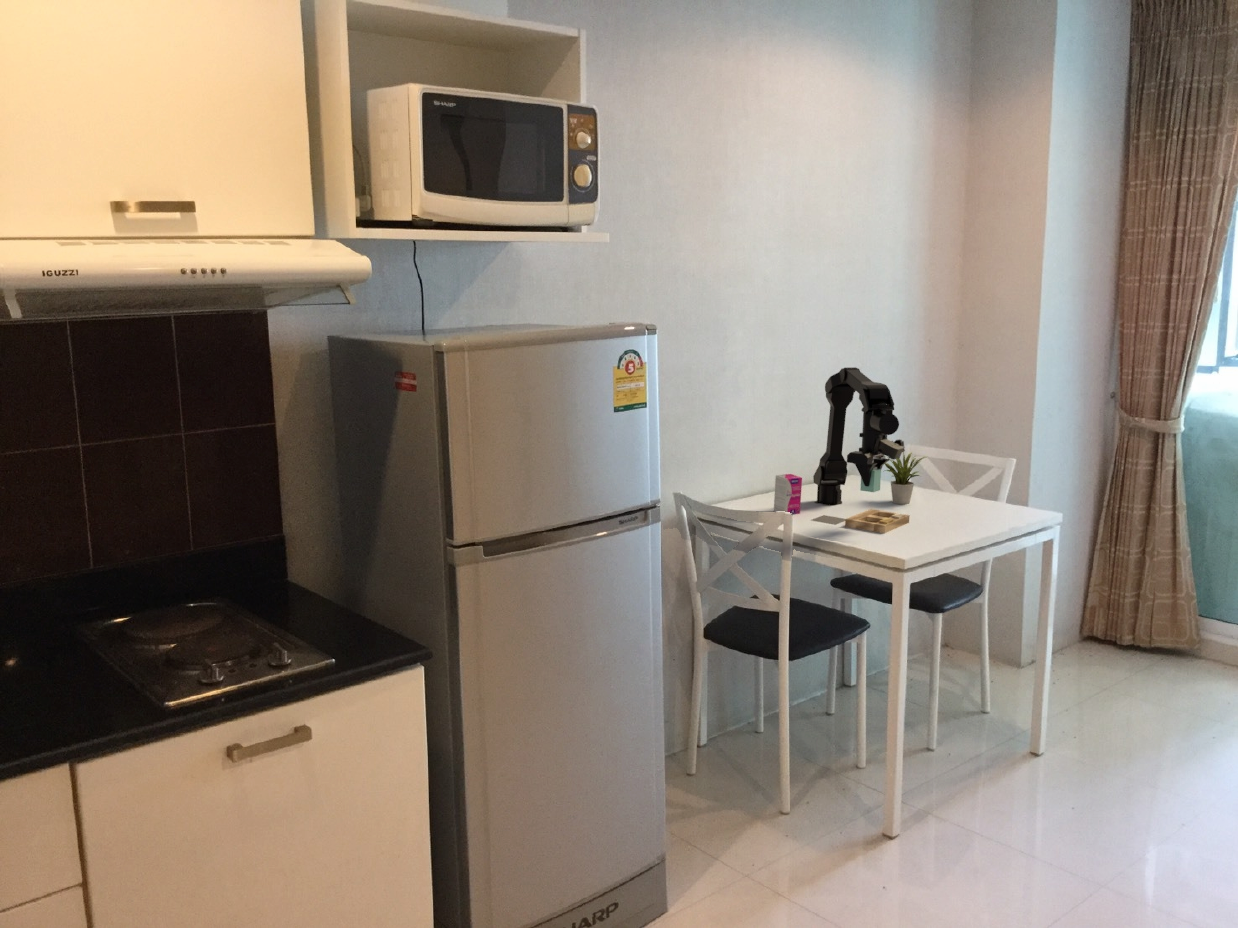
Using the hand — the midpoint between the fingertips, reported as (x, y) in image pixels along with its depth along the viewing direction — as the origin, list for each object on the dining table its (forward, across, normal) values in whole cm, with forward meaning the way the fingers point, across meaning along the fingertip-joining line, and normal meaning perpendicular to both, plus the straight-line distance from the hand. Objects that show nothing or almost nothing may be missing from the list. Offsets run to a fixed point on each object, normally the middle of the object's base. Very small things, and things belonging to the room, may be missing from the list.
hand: (870, 485), depth 299 cm
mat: (+12, 0, +12) cm, 17 cm away
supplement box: (+12, 0, +26) cm, 29 cm away
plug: (+2, 0, 0) cm, 2 cm away
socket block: (+12, +4, 0) cm, 13 cm away
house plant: (+12, +38, +7) cm, 41 cm away
